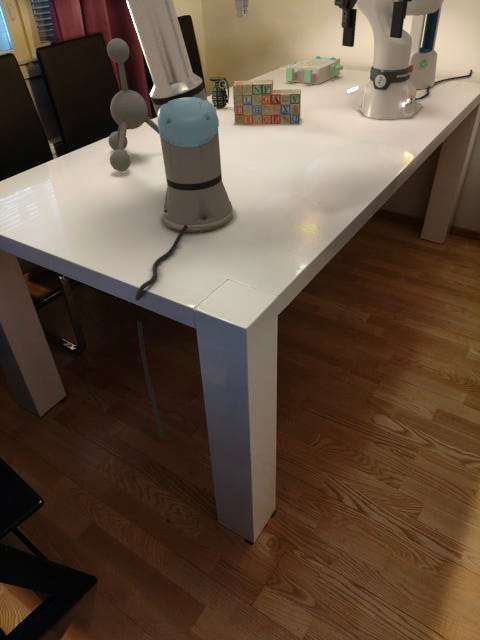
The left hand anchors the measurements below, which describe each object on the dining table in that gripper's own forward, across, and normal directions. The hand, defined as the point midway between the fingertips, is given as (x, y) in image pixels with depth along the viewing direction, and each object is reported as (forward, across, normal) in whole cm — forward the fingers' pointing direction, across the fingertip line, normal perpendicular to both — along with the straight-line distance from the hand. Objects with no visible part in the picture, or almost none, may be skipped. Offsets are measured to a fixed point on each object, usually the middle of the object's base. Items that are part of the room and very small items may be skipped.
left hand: (372, 41), depth 103 cm
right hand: (-1, -4, -58) cm, 58 cm away
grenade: (+29, -6, -78) cm, 84 cm away
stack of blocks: (+29, -9, -53) cm, 61 cm away
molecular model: (+29, +37, -48) cm, 67 cm away
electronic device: (+29, -77, -53) cm, 98 cm away
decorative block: (+29, -59, -92) cm, 113 cm away
